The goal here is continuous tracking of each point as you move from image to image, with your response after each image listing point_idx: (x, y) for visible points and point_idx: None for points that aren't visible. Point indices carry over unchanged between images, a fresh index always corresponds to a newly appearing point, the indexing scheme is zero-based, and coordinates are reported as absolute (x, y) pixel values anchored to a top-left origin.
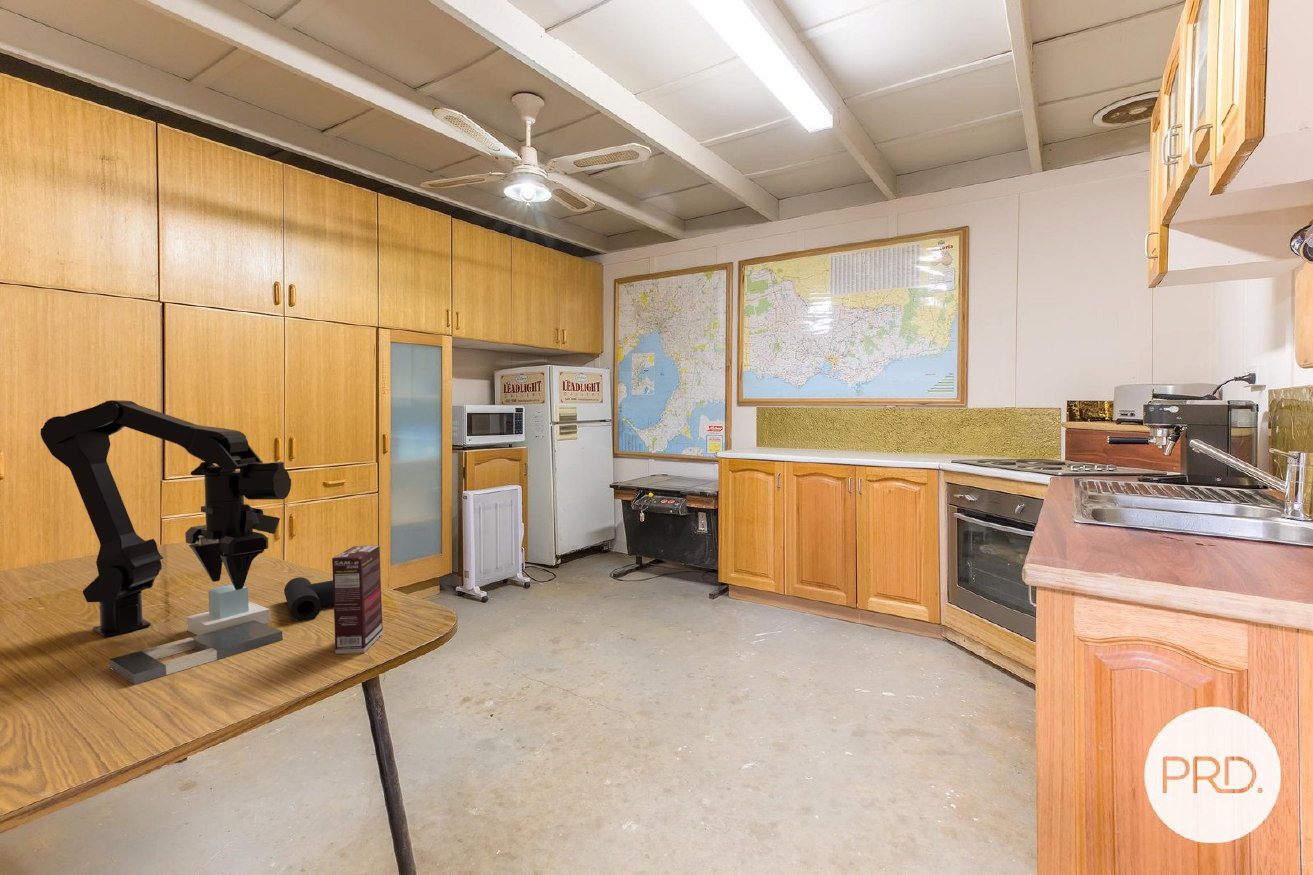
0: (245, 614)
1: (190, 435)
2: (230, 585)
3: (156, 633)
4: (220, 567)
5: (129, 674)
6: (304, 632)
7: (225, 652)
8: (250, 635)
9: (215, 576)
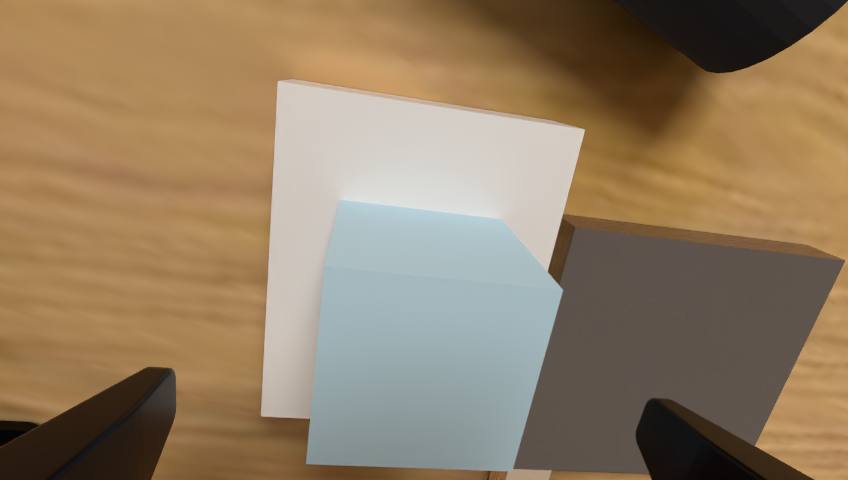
0: (536, 258)
1: None
2: (349, 328)
3: (186, 440)
4: (89, 471)
5: None
6: (841, 140)
7: None
8: (740, 351)
9: (152, 437)
